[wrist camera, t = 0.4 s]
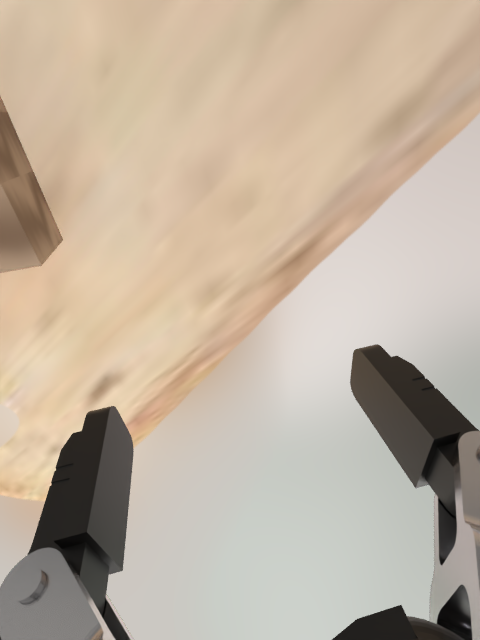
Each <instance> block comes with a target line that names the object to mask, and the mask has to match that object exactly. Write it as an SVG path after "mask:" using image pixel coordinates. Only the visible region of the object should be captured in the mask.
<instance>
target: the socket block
mask: <svg viewBox="0 0 480 640" xmlns="http://www.w3.org/2000/svg"><path fill="white" fill-rule="evenodd" d="M62 241H63V239H62V237H61V234H60V232H59V230H58V227H57V225H56V223H55V221H54V218H53V216H52V214H51V211H50V209H49V207H48V205H47V202H46V200H45V198H44V195H43V193H42V191H41V188H40V186H39V184H38V182H37V179H36V177H35V175H34V172H33V170H32V168H31V166H30V163H29V161H28V159H27V156H26V154H25V152H24V150H23V147H22V145H21V143H20V140H19V138H18V136H17V133H16V131H15V129H14V127H13V124H12V122H11V120H10V117H9V115H8V113H7V111H6V108H5V106H4V104H3V101H2V99H1V97H0V273H2V272H8V271H14V270H20V269H25V268H31V267H37V266H42V264H43V263H44V262H45V261H46V260H47V258H48V257H49V256H50V255H51V254H52V252H53V251H54V250H55V249H56V248H57V247H58V245H59V244H60V243H61V242H62Z"/></svg>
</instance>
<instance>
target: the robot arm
mask: <svg viewBox="0 0 480 640" xmlns="http://www.w3.org/2000/svg"><path fill="white" fill-rule="evenodd" d="M350 383H351V389H352V392H353V395H354V396H355V398H356V400H357V401H358V403H359V404H360V406H361V408H362V409H363V411H364V412H365V413H366V415H367V416H368V418H369V419H370V421H371V422H372V424H373V425H374V427H375V428H376V430H377V431H378V433H379V434H380V436H381V437H382V439H383V440H384V442H385V443H386V445H387V446H388V448H389V449H390V451H391V452H392V454H393V455H394V457H395V458H396V460H397V461H398V463H399V464H400V465H401V467H402V469H403V470H404V471H405V473H406V474H407V476H408V477H409V479H410V480H411V482H412V483H413V485H414V486H415V488H418V487H422V486H425V485H430V486H431V488H432V489H433V491H434V492H435V496H434V574H433V580H432V584H431V592H430V621H427V620H424V619H419V618H415V617H409V616H406V614H405V612H404V610H403V608H402V606H401V605H400V606H396V607H393V608H390V609H387V610H384V611H381V612H378V613H374V614H372V615H368V616H365V617H362V618H359V619H357V620H355V621H354V622H353V623H352V624H350V625H349V626H348V627H347V628H346V629H344V630H343V631H342V632H341V633H340V634H338V635H337V636H336V637H335V638H333V639H332V640H480V431H479V430H478V429H476V428H475V427H474V426H473V425H472V424H471V423H470V422H469V421H468V420H467V419H466V418H465V417H464V416H463V415H462V414H461V413H460V412H459V411H458V410H457V409H456V408H455V407H454V406H453V405H452V404H451V403H450V402H449V401H448V400H447V399H446V398H445V397H444V395H443V394H442V393H441V392H440V391H439V390H438V389H435V388H434V386H433V384H431V382H430V381H429V380H427V379H425V377H424V375H423V374H422V373H421V372H420V371H419V370H417V368H416V367H415V366H414V365H412V364H411V363H409V362H407V361H405V360H403V359H402V358H400V357H398V356H394V357H390V355H389V354H388V353H387V352H386V351H385V350H384V349H383V348H382V347H381V346H380V345H373V346H368V347H364V348H359V349H356V350H354V353H353V361H352V370H351V381H350ZM132 462H133V442H132V438H131V435H130V433H129V431H128V429H127V427H126V426H125V424H124V422H123V420H122V418H121V416H120V414H119V412H118V410H117V409H116V407H114V406H111V407H107V408H103V409H99V410H94V411H90V412H88V413H87V415H86V418H85V421H84V425H83V429H82V431H80V432H76V433H73V434H72V435H71V437H70V438H69V440H68V441H67V442H66V444H65V445H64V447H63V448H62V450H61V452H60V456H59V459H58V462H57V465H56V471H55V472H54V475H53V478H52V482H51V483H52V485H51V486H50V488H49V491H48V494H47V498H46V501H45V504H44V508H43V511H42V514H41V517H40V521H39V524H38V527H37V530H36V533H35V537H34V540H33V543H32V546H31V549H30V551H29V553H28V555H27V556H26V557H24V558H23V559H22V560H21V561H20V562H19V563H18V564H17V565H16V566H15V567H14V568H13V569H12V570H11V571H10V572H9V574H8V575H7V577H6V578H5V580H4V581H3V583H2V585H1V587H0V640H134V638H133V637H132V635H131V633H130V632H129V630H128V628H127V627H126V625H125V624H124V622H123V620H122V618H121V617H120V615H119V613H118V612H117V610H116V609H115V607H114V605H113V604H112V602H111V600H110V599H109V597H108V595H107V594H106V590H107V582H108V575H109V574H113V573H116V572H120V571H122V570H123V560H124V549H125V539H126V528H127V516H128V505H129V495H130V484H131V473H132Z"/></svg>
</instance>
